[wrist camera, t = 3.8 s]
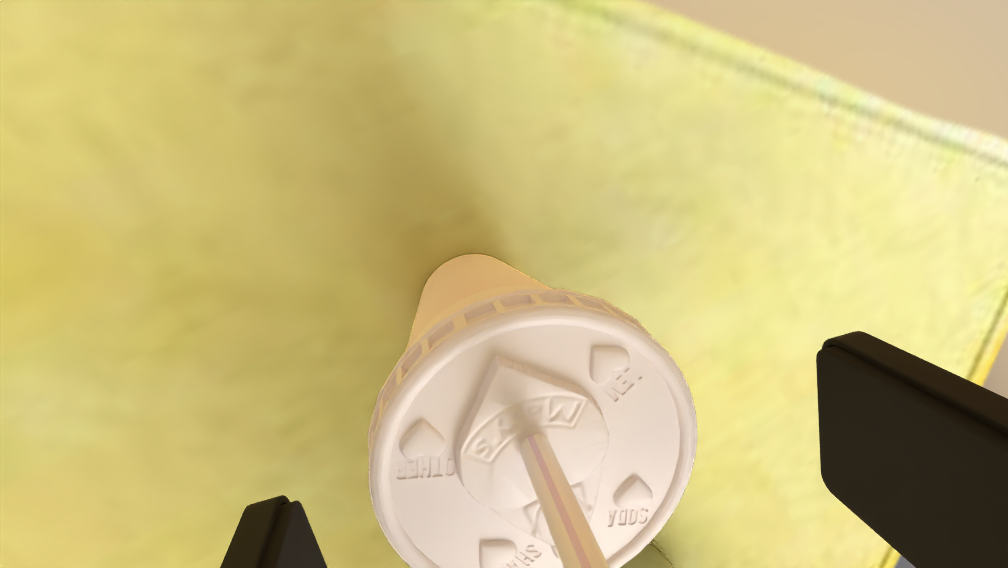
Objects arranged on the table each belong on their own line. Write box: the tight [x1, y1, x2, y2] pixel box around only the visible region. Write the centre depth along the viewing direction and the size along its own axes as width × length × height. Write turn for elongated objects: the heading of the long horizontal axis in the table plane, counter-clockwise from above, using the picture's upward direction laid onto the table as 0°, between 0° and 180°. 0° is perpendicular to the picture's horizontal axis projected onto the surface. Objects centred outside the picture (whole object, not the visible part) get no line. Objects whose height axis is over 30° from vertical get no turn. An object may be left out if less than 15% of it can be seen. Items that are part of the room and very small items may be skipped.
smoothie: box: [368, 254, 697, 568], centre depth 13 cm, size 6×6×14 cm
